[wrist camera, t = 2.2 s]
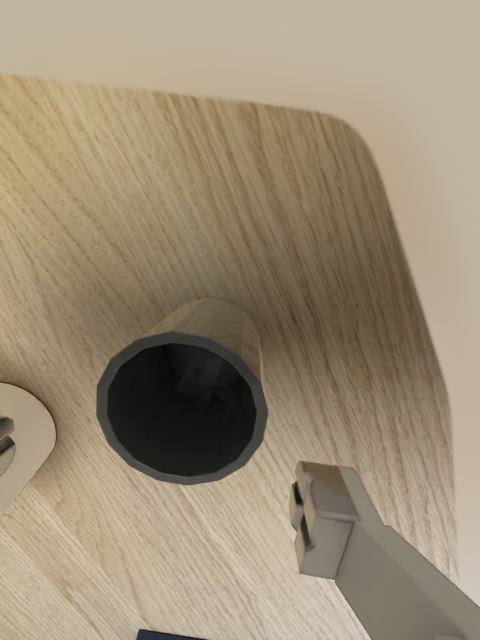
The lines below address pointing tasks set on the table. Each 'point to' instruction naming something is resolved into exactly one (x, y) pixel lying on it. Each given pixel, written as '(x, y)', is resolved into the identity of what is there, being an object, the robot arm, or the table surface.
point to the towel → (159, 636)
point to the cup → (24, 440)
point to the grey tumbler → (187, 395)
